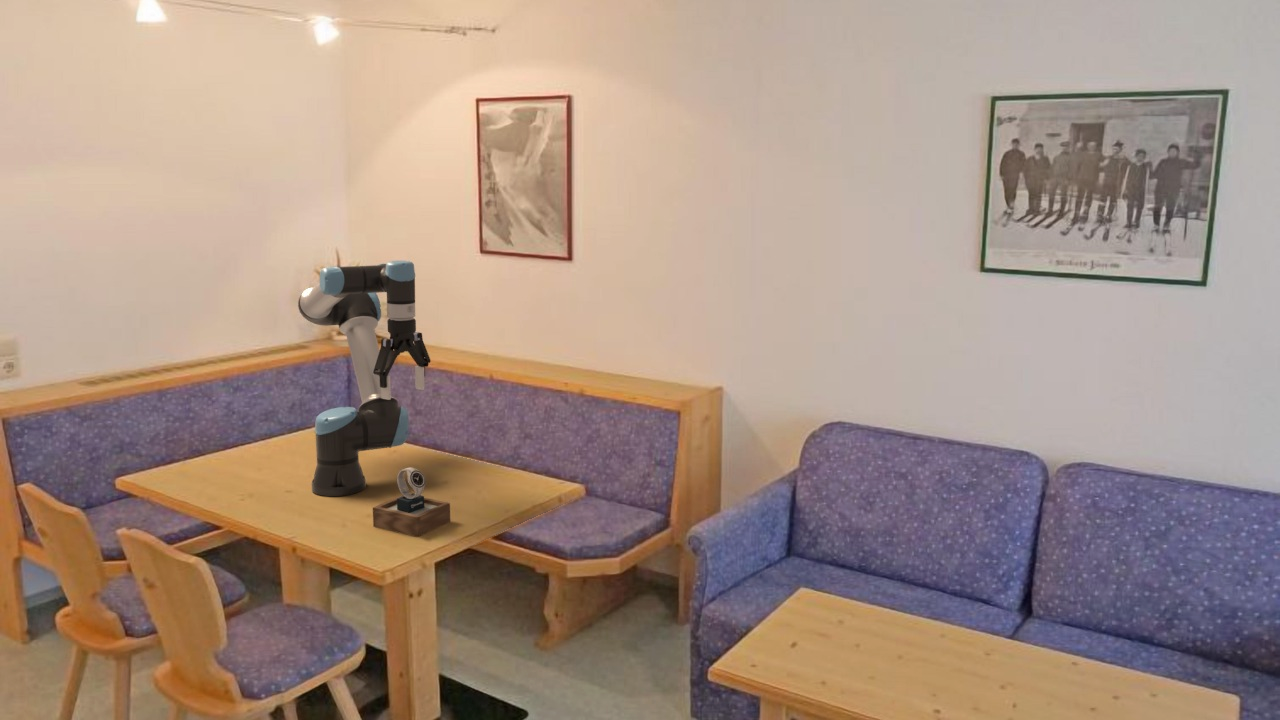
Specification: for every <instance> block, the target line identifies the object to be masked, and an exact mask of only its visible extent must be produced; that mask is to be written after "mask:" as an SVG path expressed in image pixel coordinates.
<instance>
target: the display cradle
mask: <svg viewBox="0 0 1280 720" xmlns="http://www.w3.org/2000/svg"><path fill="white" fill-rule="evenodd" d="M403 496H404V495H403V494H401V495H400V496H398V497H395V498H393V499H390V500H388V501H385V502H382V503H380V504H378V505H375V506H373V507H372V525H373V527H375V528H378V529H383V530H386V531H387V530H388V531H391V532H396V533H400V534H403V535H409V536H412V537H416V538H417V537H418V538H419V537H421V536H422V535H425V534H427V533H430V532H431V531H433V530H435V529H438V528H440V527H442V526H444V525H446V524H448V523H451V502H447V501H442V500H439V499H433V498H427V497H424V508H422V509H419V510H416V511H414V512H411V513H406V512H403V511H399V510H397V498H400V497H403Z"/></svg>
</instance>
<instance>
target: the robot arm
mask: <svg viewBox="0 0 1280 720" xmlns="http://www.w3.org/2000/svg"><path fill="white" fill-rule="evenodd" d="M415 271H416V270H415V265H414V263H413V262H412V261H410V260H390V261H388V262H387V263H379V264H375V265H355V266H336V265H335V266H331V267H330V266H328V267H324V268H321V270H320V272H319V273H320V274H319V277H318V279H319V280H318V281H319V282H318V283H317V284H316V285H315V286H312V287H309V288H307V289H305V290H304V291H303V292H302V293H301V295H300V296H299V297H298V301H297V307H298V311H299V313H300V314H301V316H302V317H303V318H304V319H305V320H306V321H308V322H309V323H313V324H315V325H317V326H318V325H319V326H326V327H327V326H338V328H339V332H340V333H341V334H343V335H345V336H346V339H347V345H348V348H349V353H350V357H351V361H352V365H353V369H354V373H355V378H356V382H357V386H358V391H359V395H360V398H361V403H360V405H359V406H358V407H357V408H358V410H357V409H356V408H355V407H353V406H339V407H335V408H330V409H326V410H324V411H322V412H321V413H319V414H318V415H317V416H316V417H315V423H314V425H315V427H314V434H315V447H316V467H315V471H314V476H313V479H312V481H311V491H312V493H313V494H316V495H319V496H322V497H323V496H324V497H340V496H341V497H342V496H349V495H353V494H357V493H359V492H361V491H364V490H365V488H366V486H367V484H366V483H367V482H366V481H367V480H366V477H365V475H364V473H363V469H362V466H361V464H360V459H359V452H363V451H371V450H373V451H374V450H379V449H380V450H381V449H388V448H389V449H391V448H394V447H398V446H402V445H404V444H405V443H406V441H407V439H408V435H409V430H410V427H409V426H410V419H409V417H410V416H409V412H408V409H407V408H406V407H405V406H402V405H401V406H399V402H398V399H397V398H395V397H394V396H392V393H391V392H392V389H391V387H392V386H391V375H389V373H390V372H391V369H392V368H393V365H394V364H395V361H396V360H397V358H398V356H399V355H400V354H402V353H405V352H407V353H408V354H409V355H410V357H411V358H412V359H413V361H414V362H415V363H416V365H415V366H414V377H415V379H414V381H415V383H414V385H415V389H416V390H420V391H421V390H422V391H424V390H425V389H426V387H425V385H426V384H425V378H426V367H429V364H430V363H431V358H430V355H429V353H428V350H427V348H426V345H425V343H424V340H423V339H424V338H423V333H422V332H419V331H417V326H416V325H417V323H416V322H417V320H416V319H415V317H416V272H415ZM377 293H386V317H387V318H388V319H387V323H386V324H387V333H389V338H381V340H380V341H381V342H380V346H379V342H378V340H377V335H376V330H375V329H376V328H377V327H378V324H379V322H380V320H381V318H382V308H381V302H380V298H379V296H378V294H377Z"/></svg>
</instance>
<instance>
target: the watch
mask: <svg viewBox="0 0 1280 720" xmlns="http://www.w3.org/2000/svg"><path fill="white" fill-rule="evenodd" d="M405 473H406V475H407V482H408V483H406V479H405ZM396 479H397V480H396V482H397V487H398V489H399V492H400V494H401V495H404V496H403V497H400V496H399V497H400V498H397V497H396V498H397V510H399V511H403V512H406V513H411V512H414V511H416V510H419V509H422V508H424V498H425V496H424V495H422V494H423V492H424V489H425V485H426V475H424V473H423V472H422V471H421V470H418V469H417V468H415V467H406V468H403V469H401V470H399V472H398V473H397V477H396ZM407 484H409V486H410V487H411V488H412V490H413V491H414V492H415V493H413V492H412V493H410V490H409V487H408V485H407Z"/></svg>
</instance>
